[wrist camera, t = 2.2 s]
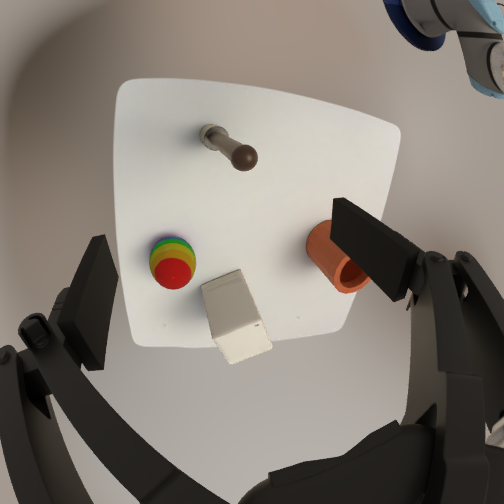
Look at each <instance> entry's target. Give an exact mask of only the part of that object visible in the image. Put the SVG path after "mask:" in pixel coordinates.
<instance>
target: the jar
mask: <svg viewBox="0 0 504 504" xmlns="http://www.w3.org/2000/svg"><path fill="white" fill-rule="evenodd" d="M330 231H331V220H328V221H324V222H322V223H320V224H319V225H317V226H316V227H315V228H314V229H313V230H312V232H311V233H310V235H309V237H308V239H307V243H306V251H307V254H308V255H309V257H310V258H311V259H312V260H313V262H314V263H315V264H316V265H317V266H318V267H319V269H320V270H321V271H322V272H323V273H324V275H325V276H326V277H327V278H328V279H329V281H330V282H331V283H332V284H333V285H334V286H335V288H336V289H337V290H338V291H339V292H342V293H345V294H347V293H353V292H355V291H357V290H359V289H361V288H363V287H364V286H365V285H366V284H367V283H368V282H369V281H370V280H371V278H370V277H369V276H368V275H367V274H366V273H365V272H364V271H363V270H362V269H360V268H359V267H358V266H357V265H356V264H355V263H354V262H353V261H352V260H351V259H350V258H349V257H348V256H347V255H346V254H345V253H344V252H343V251H342V250H341V249H340V248H339V247H338V246H337V245H336V244H335V243H333V242H332V241H331V240H330Z"/></svg>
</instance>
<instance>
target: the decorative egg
mask: <svg viewBox="0 0 504 504" xmlns="http://www.w3.org/2000/svg"><path fill="white" fill-rule="evenodd" d="M195 268H196V258H195V254H194V251H193V249H192V247H191V246H190V245H189V244H188V243H187V242H186V241H185V240H183V239H181V238H178V237H167V238H164V239H162V240H160V241H159V242H158V243H157V244H156V245H155V246H154V248H153V249H152V252H151V255H150V270H151V273H152V275H153V277H154V278H155V280H156V281H157V282H158V283H159V284H160V285H161V286H163V287H165V288H167V289H179V288H182V287H184V286H185V285H186V284H188V283H189V281H190V280H191V279H192V277H193V275H194V272H195Z"/></svg>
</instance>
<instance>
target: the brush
mask: <svg viewBox="0 0 504 504" xmlns="http://www.w3.org/2000/svg"><path fill="white" fill-rule="evenodd" d="M200 139H201V141H202V142H203V143H204V144H205V146H206V147H207V148H209V149H210V150H214V151H217V150H219V151H220V152H221V153H222V154H224V155H225V156H226V157H227V158H228V159H229V160H230V161H231V163H232V165H233V167H234V168H236V169H237V170H239V171H249V170H251V169H252V168H254V167H255V165H256V164H257V161H258V155H257V152H256V150H255V149H254V148H253V147H251V146H249V145H243V144H241V143H239V142H237V141H235V140H233V139H231V138H230V137H229V136H228V133H227V131H226V130H225V129H224V128H222V127H219V126H217V125H214V124H208V125H206V126H204V127H203V128H202V129H201V131H200Z"/></svg>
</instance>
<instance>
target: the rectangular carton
mask: <svg viewBox="0 0 504 504" xmlns="http://www.w3.org/2000/svg"><path fill="white" fill-rule="evenodd" d="M201 289H202V294H203V298H204V303H205V308H206V312H207V317H208V322H209V326H210V330H211V335H212V339H213V340H214V342H215V343H216V345H217V346H218V348H219V349H220V351H221V352H222V354H223V355H224V357H225V358H226V360H227V361H228V363H229V364H230V365H232V364H235V363H237V362H240V361H242V360H245V359H247V358H250V357H252V356H255V355H258V354H260V353H263V352H265V351H268V350H270V349H272V348H273V345H272V343H271V340H270V338H269V335H268V333H267V330H266V328H265V326H264V323H263V321H262V318H261V316H260V314H259V311H258V309H257V307H256V304H255V302H254V300H253V298H252V295H251V293H250V291H249V288H248V286H247V284H246V282H245V279H244V277H243V275H242V272H241V270H238V271H235V272H233V273H230V274H228V275H225V276H223V277H220V278H218V279H215V280H213V281H211V282H208V283H206V284H203V285H201Z"/></svg>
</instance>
